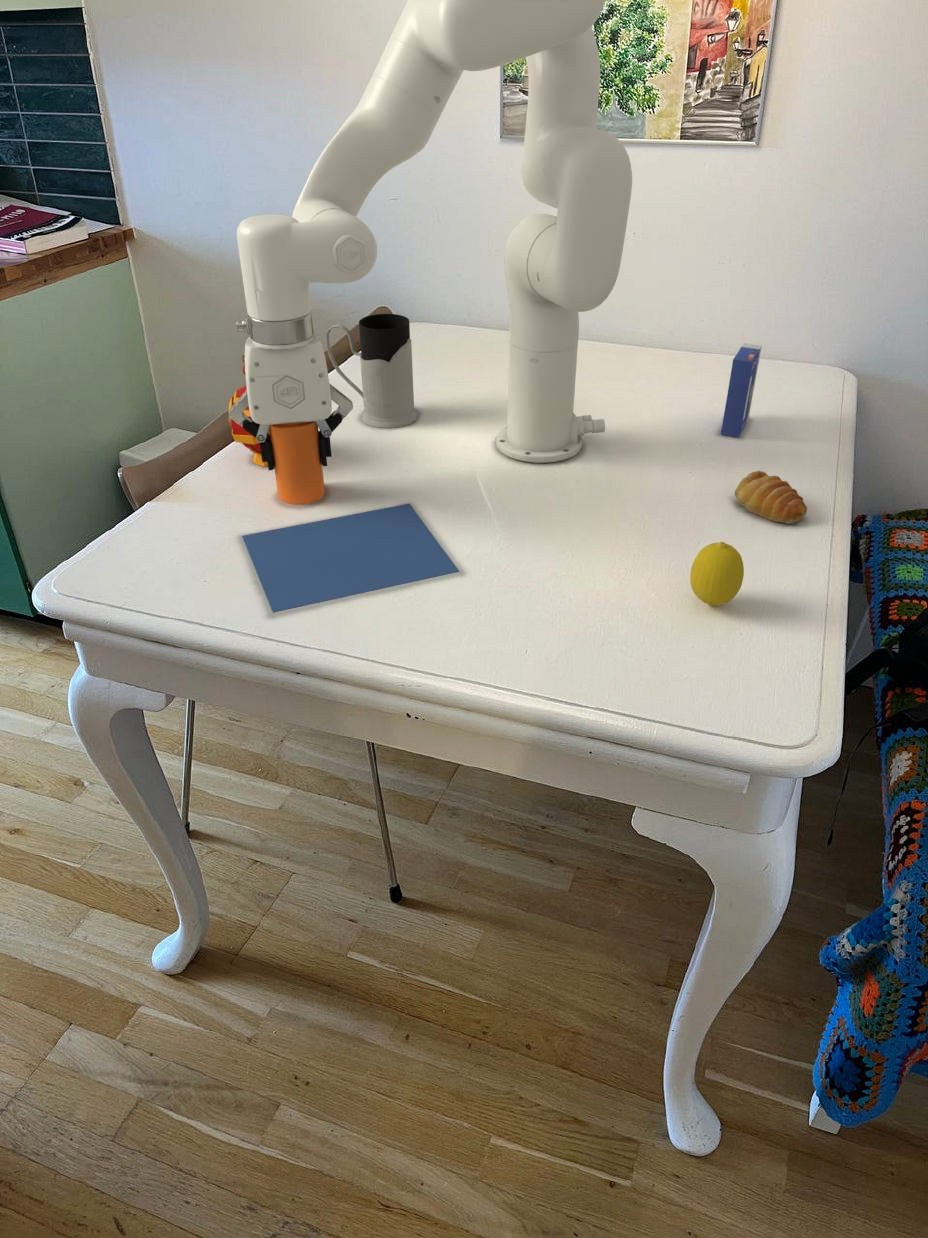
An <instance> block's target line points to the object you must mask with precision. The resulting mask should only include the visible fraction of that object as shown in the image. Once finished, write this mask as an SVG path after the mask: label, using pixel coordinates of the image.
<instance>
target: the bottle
mask: <svg viewBox="0 0 928 1238" xmlns="http://www.w3.org/2000/svg"><path fill="white" fill-rule="evenodd" d="M318 431H319V428H318V426H317V424H316V422H315V421H313V422H301V423H288V424H273V425H270V428H269V433H270V440H271V447H272V454H273V461H274V469H273V470H274V475H275V484H276V490H277V491H276V492H277V497H278V500H279V501H280V502H282V503H284V504H286V505H292V506H304V505H310V504H313V503H316V502H318V501H320V500H321V499H323V498H324V496H325V493H326V489H325V479H324V471H323V465H322V463H321V453H320V444H319V432H318Z"/></svg>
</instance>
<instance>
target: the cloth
mask: <svg viewBox="0 0 928 1238" xmlns="http://www.w3.org/2000/svg"><path fill="white" fill-rule="evenodd" d="M241 538H242V540H243V542H244V545H245V547H246V550H247V553H248V555H249V557H250V560H251V562H252V565H253V567H254V570H255V572H256V575H257V577H258V579H259V583H260V584H261V586H262V590H263V592H264V594H265V597H266V599H267V602H268V605H269V607H270V609H271V613H278V612H283V611H287V610H292V609H297V608H300V607H305V606H306V607H307V606H311V605H315V604H318V603H319V604H320V603H324V602H328V601H332V600H338V599H343V598H347V597H351V596H355V595H359V594H365V593H368V592H374V591H378V590H383V589H386V588H391V587H396V586H401V585H406V584H409V583H414V582H419V581H424V580H427V579H432V578H437V577H442V576H446V575H450V574H454V573H455V574H456V573H460V570H459V569H458V567H457V566H456V565H455V563H454V562H453V561H452V559H451V558H450V556H449V555H448V554H447V552H446V551H445V550H444V549H443V547H442V546H441V545H440V543H439V542H438V540H437V539H436V538H435V536H434V535H433V534H432V532H431V531H430V530H429V528H428V527H427V525H426V524H425V523H424V522H423V520H422V519H421V518H420V516H419V514H418V513H417V512H416V511H415V509H414V508H413V507H412V505H411V504H410V503H405V504H404V503H403V504H399V505H394V506H388V507H384V508H380V509H374V510H369V511H364V512H359V513H358V512H357V513H354V514H353V513H352V514H348V515H343V516H338V517H332V518H327V519H322V520H316V521H312V522H307V523H301V524H296V525H291V526H286V527H280V528H275V529H269V530H264V531H260V532H253V533H249V534H245V535H241Z"/></svg>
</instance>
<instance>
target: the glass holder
mask: <svg viewBox="0 0 928 1238" xmlns="http://www.w3.org/2000/svg"><path fill="white" fill-rule="evenodd" d="M410 325H411V324H410V319H409V318H408V317H407V316H404V315H402V314H396V313H377V314H370V315H367V316H365V317H361V319H359V321H358V330H359V343H360V344H359V345H360V352H359V351H357V350H356V349H355V343H354V338H353V335H352V332H351V331H350V330H349V328H347V327H346V326H345V325H343V324H333V325H332V326H330V327H329V328H327V331H326V333H325V346H326V350H327V354H328V357H329V360H330V362H331V364H332V366H333V368H334V369H335V371H336V373H337V374H338V375H339V376H340V377H341V378H342V380H344V381H345V382H346V383H347V385H349V386H350V387H351V388H352V389H354V390H355V392H356V393H357V394H359V395H360V397H361V398H362V401H363V412H362V415H361V420H362V422H363V423H364V424H366V425H367V426H370V427H373V428H377V429H378V428H380V429H395V428H402V427H405V426H408V425H411V424H413V423H414V422H415V421H417V419H418V413H417V411H416V408H415V396H414V395H415V394H414V371H413V349H412V347H413V346H412V339H411V327H410ZM334 328H339V329H341V330H343V331H344V333H346V335H347V337H348V339H349V345H350V351H351V352H352V354H353V355H354V356H358V357H359V359H360V373H361V386H362V389H360V388H359V387H358V386H357V385H356V384H355V383H354V382H353V381H351V380H350V378H349V377H348V376H347V375H346V374H345V373H344V372H343V371H342V370H341V368H340V367H339V365H338V363H337V362H336V359H335V358H334V355H333V352H332V350H331V344H330V343H331V342H330V332H331V331H332V329H334Z"/></svg>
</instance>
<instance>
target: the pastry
mask: <svg viewBox="0 0 928 1238" xmlns="http://www.w3.org/2000/svg"><path fill="white" fill-rule="evenodd" d="M734 497H735V499H736V500H737V502H738V503H739V506H743V507H744V508H745V509H746V511H749V512H751V513H752V514H755V515H758V516H759V517H760V518H765V519H766V520H769V521H771V522H776V523H784V524H788V525H789V524H794V523H796V522H798V521H802V520H803V519H804V517H805V516H806V514H807V513H808V506H807V505H806V503H805V501H804V498H803V497H802V496H801V495H800V494H799V493H798V491H797V489H795V488H793V487H792V486H791V485H790V484H789V482H788V481H787V480H782V479H781V478H780V476H778V475H768V474H767V472H766V471H761V470H755V471H752V472H750V473H749V474H747V475H746V476H745V477H743V478H742V479H741V480H740V482H739V483H738V485H737V486H736V488H735V489H734Z"/></svg>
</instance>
